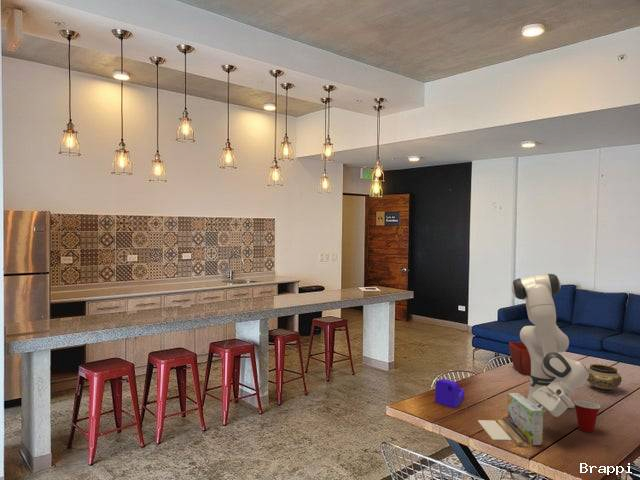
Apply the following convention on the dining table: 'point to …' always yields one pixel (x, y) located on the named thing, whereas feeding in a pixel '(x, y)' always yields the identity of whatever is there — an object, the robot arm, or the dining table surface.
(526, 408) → the snack box
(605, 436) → the dining table surface
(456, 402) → the bracket
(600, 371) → the ceramic bowl
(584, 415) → the plastic cup
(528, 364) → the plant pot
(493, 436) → the mat
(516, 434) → the tear bar
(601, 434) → the dining table surface
